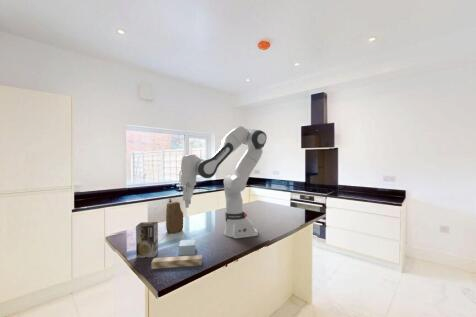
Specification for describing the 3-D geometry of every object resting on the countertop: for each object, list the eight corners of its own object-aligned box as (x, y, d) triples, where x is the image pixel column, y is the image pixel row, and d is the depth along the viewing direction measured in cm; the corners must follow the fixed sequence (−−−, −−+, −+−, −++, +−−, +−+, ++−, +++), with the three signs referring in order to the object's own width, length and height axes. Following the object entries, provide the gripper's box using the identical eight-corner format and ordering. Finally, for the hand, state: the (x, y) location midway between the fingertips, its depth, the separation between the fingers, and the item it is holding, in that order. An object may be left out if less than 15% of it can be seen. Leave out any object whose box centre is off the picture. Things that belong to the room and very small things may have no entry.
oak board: (201, 261, 100) (201, 254, 100) (201, 265, 96) (201, 258, 96) (153, 264, 97) (153, 258, 98) (151, 268, 94) (151, 262, 94)
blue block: (195, 248, 116) (195, 239, 116) (194, 254, 108) (194, 245, 108) (180, 249, 115) (180, 240, 115) (178, 256, 107) (178, 246, 107)
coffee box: (158, 252, 111) (158, 221, 111) (154, 257, 105) (154, 225, 105) (141, 252, 111) (140, 221, 111) (135, 258, 104) (135, 225, 104)
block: (167, 234, 137) (167, 204, 138) (165, 231, 144) (165, 202, 144) (184, 231, 143) (184, 202, 143) (181, 228, 149) (181, 200, 150)
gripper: (192, 183, 113) (191, 209, 112) (195, 180, 133) (195, 202, 133) (180, 183, 112) (179, 209, 111) (185, 180, 132) (184, 202, 132)
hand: (188, 205), depth 122 cm, fingers open, 8 cm apart
